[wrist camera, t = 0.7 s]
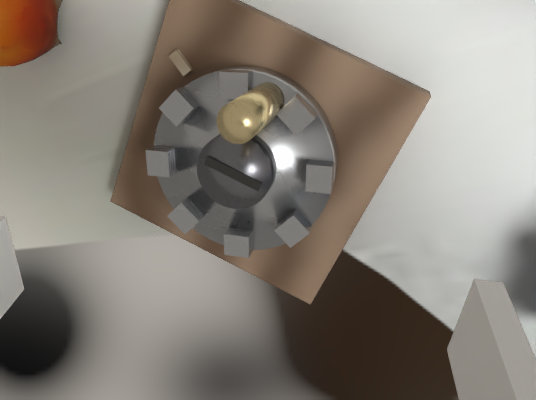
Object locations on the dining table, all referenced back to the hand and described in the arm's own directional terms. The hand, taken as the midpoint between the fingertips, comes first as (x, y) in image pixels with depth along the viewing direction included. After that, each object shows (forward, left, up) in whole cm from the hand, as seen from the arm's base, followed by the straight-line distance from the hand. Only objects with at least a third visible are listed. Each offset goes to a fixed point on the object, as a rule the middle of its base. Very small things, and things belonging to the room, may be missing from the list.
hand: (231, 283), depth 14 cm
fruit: (+27, +4, -27) cm, 38 cm away
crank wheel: (+5, +6, -24) cm, 26 cm away
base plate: (+5, +6, -27) cm, 28 cm away
